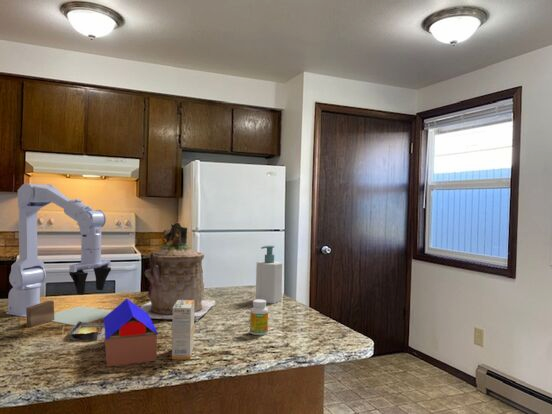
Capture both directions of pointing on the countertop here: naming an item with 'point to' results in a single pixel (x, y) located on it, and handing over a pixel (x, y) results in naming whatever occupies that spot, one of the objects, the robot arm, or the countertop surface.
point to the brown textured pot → (175, 276)
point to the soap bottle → (269, 278)
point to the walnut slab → (40, 313)
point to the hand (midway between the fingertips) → (90, 292)
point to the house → (129, 335)
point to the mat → (79, 315)
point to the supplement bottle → (259, 318)
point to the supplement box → (183, 329)
